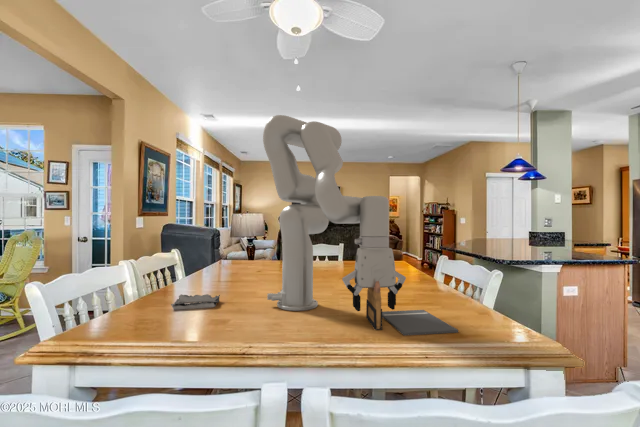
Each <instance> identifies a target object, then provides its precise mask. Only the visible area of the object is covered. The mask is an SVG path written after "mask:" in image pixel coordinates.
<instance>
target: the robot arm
mask: <svg viewBox="0 0 640 427" xmlns="http://www.w3.org/2000/svg"><path fill="white" fill-rule="evenodd" d="M262 135H263V136H262V142H263V148H264V150H265V153H266V156H267V158H268V162H269V164H270V169H271V174H272V177H273V181H274V185H275V190H276V193H277V196H278V198H280V200H281V201H283V202H286V203H293V204H289V205H287V206H285V207H284V208H283V209H282V210H281V212H280V214H279V220H278V221H279V228H280V233H281V245H282V248H281V249H282V252H281V253H282V269H281V270H282V271H281V272H282V273H281V274H282V276H281V277H282V278H281V279H282V280H281V283H282V284H281V289H280V291H278V292H277V293H272V292H271V293H267V295H266V296H267V300H269V301H277V304H276V306H277V308H279V309H281V310H284V311H293V312H301V311H303V312H304V311H309V310H314V309H316V308H318V304H319V303H318V301H317V300H316V299H315V298H314V295H313V294H314V248H313V243H312V240H311V237H310V235H315V234H317V235H318V234H322V233H323V232H324V231H325V230H326V229H327V228H328V227H329V226H328V225H329V222H331V223H333V224H337V225H338V224H346V225H347V224H349V225H350V224H359V236H358V238H355V239H354V244H355V245H359V248H358V247H357V249H356V254H355V261H354V262H355V263H354V270H353V271H351V272H349V273H348V274H346V275H345V276H343V277H342V278H341V279H342V281H343V284H344V285H345V287H346V288H347V289H348V291H349V292H350V293H351V294H352V307H353V308H354V309H355V311H357V312H360V311H361V295H360V292H361V291H362V290H363V289H368V288H374V287H375V284H376V281H379V284H380V289H381V288H387V289H388V290H389V291H388V292H387V307H388V308H389V309H391V311H395V306H396V305H397V294H398V292H399V291H400V289H401V288H402V287H403V285H404V283H405V281H406V279H407V277H406V276H405V275H404V274H401V273H400V272H398V271H396V264H395V258H394V257H395V256H394V251H393V248H391V247H390V206H389V205H390V201H389V198H388V197H387V196H382V195H369V196H368V195H367V196H363V197H358V196H352V195H351V196H349V195H343V194H342V192H341V190H340V188H339V186H338V184H337V181H336V177H335V175H336V174H337V173H338V172H339V171H340V170H341V169H342V167H343V166H344V165H343V164H344V162H343V159H342V157H341V155H340V153H339V149H341V146H342V136H341V133H340V131H339V130H338V129H337V128H335V127H333V126H332V125H328V124H325V123H322V122H319V121H303V120H301V119H298V118H295V117H292V116H289V115H285V114H284V115H283V114H276V115H273V116H271V117H270V118H269V119H268V120H267V121H266V123H265V125H264V129H263V133H262ZM289 145H290V146H294V147H298V148H302V149H304V150H305V152H306V154H307V156H308V158H309V161H310V163H311V164H312V167H313V169H314V171H315V177H314V176H313V175H309V174H304V173H302V172H301V171H300V168H299V166H298V162H297V158H296V156H295V155H294V153H293V151H292V149H291V148H290V147H289ZM295 203H296V204H295ZM353 279H354V283H355V284H354V286H353V285H352V284H351V280H353Z"/></svg>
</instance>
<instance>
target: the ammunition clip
mask: <svg viewBox="0 0 640 427" xmlns="http://www.w3.org/2000/svg"><path fill="white" fill-rule="evenodd" d="M366 291H367V295H366V296H367V299H366V308H365V309H366V312H365V316H366V320H367V321H368V322H369V324H370V325H371V327H372V328H373V329H374V330H375V331H382V330H383V318H382V312H383V309H382V295H381V293H382V292H381V288H380V284H379V281H376V284H375V287H374V288H367V290H366Z"/></svg>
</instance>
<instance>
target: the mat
mask: <svg viewBox="0 0 640 427" xmlns="http://www.w3.org/2000/svg"><path fill="white" fill-rule="evenodd" d="M382 319H384V321H386V322H387V323H388V324H390V325H391V326H392V327H393V328H395V330H397V331H398V332H399V333H400V334H402V335H403V336H417V335H419V336H420V335H436V334H454V333H455V334H456V333H457V334H458V333H459V330H458V329H457V328H456V327H454V326H452V325H450V324H448V323H447V322H446V321H443V320H442V319H440V318H439V317H437V316H435V315H433V314H431V313H430V312H428V311H426V310H425V309H410V310H390V311H389V310H388V311H387V310H386V311H385V310H384V311H382Z"/></svg>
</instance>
